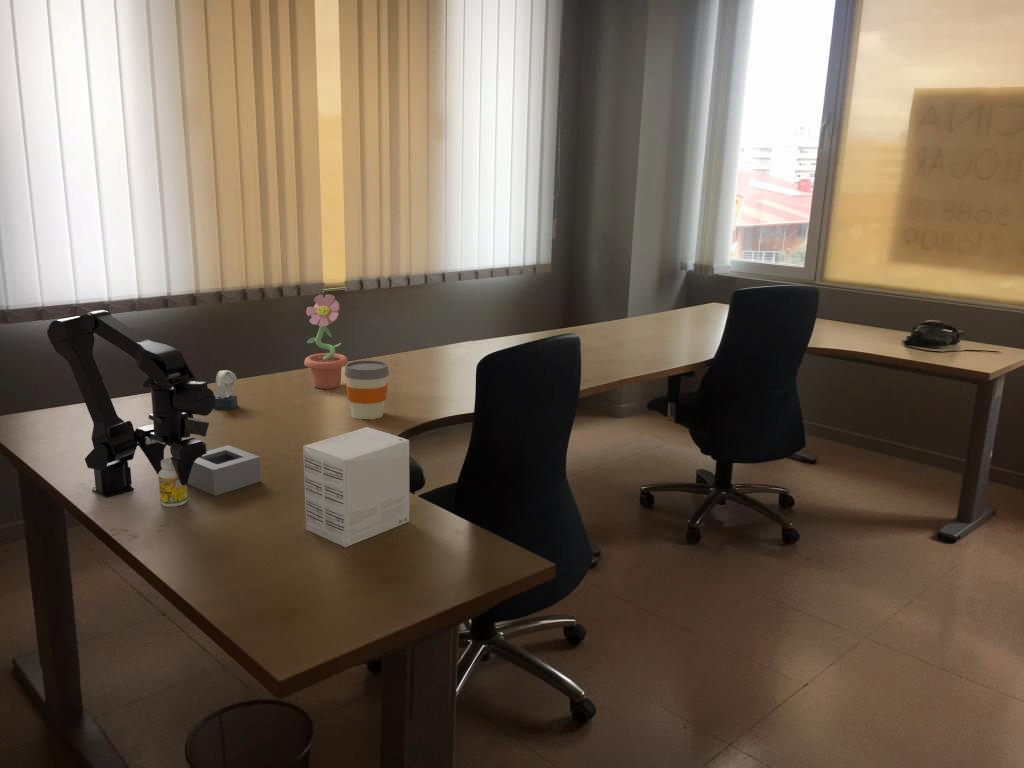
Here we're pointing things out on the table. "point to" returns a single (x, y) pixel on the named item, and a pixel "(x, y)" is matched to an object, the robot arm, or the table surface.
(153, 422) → the robot arm
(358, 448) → the supplement box
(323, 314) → the decorative flower
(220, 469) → the drop box
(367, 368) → the reusable coffee cup
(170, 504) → the supplement bottle
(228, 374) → the white bust figurine
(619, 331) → the table surface
